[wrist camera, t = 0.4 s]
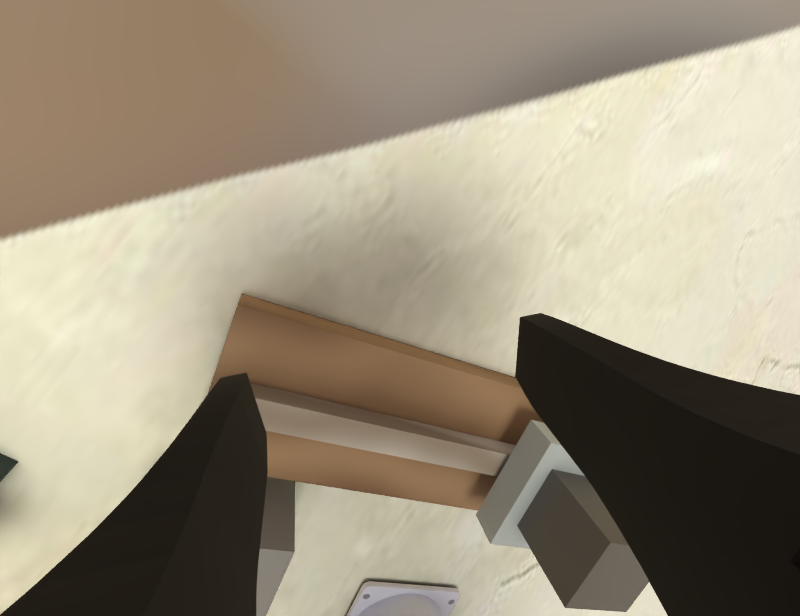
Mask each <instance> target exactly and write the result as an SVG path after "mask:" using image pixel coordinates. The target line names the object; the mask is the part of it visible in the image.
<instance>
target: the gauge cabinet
mask: <svg viewBox="0 0 800 616" xmlns="http://www.w3.org/2000/svg"><path fill="white" fill-rule="evenodd" d="M294 535H295V481H291V480H285V479H279V478H272V477H267V484H266V494H265V504H264V513H263V523H262V532H261V542H260V551H259V561H258V573H257V594H256V616H266V614H267V612H268V610H269V607H270V605H271V603H272V601H273V599H274V596H275V594H276V592H277V590H278V587H279V585H280V583H281V581H282V579H283V576H284V574H285V572H286V570H287V567H288V565H289V563H290V561H291V558H292V556H293V554H294Z"/></svg>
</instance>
